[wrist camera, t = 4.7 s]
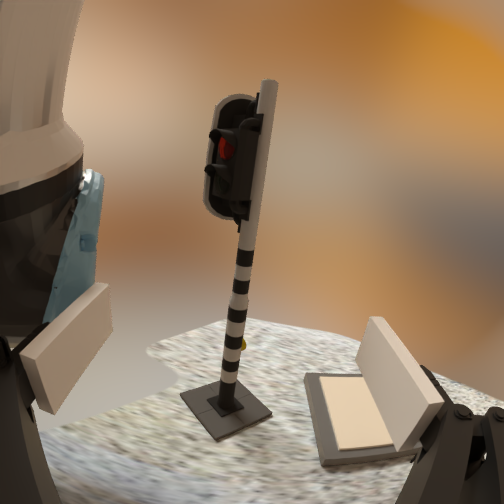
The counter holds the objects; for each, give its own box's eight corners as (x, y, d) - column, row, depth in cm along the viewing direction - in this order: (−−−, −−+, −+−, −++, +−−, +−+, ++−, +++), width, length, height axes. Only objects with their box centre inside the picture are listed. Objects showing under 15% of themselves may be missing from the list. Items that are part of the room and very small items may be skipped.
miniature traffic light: (230, 374, 33) (269, 96, 25) (271, 414, 28) (336, 91, 19) (172, 393, 29) (196, 76, 20) (210, 442, 23) (257, 56, 14)
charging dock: (321, 465, 21) (326, 457, 21) (303, 379, 34) (306, 370, 33) (445, 446, 22) (451, 438, 22) (406, 379, 34) (410, 371, 34)
